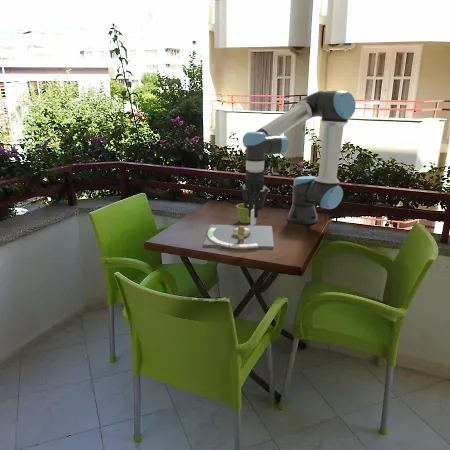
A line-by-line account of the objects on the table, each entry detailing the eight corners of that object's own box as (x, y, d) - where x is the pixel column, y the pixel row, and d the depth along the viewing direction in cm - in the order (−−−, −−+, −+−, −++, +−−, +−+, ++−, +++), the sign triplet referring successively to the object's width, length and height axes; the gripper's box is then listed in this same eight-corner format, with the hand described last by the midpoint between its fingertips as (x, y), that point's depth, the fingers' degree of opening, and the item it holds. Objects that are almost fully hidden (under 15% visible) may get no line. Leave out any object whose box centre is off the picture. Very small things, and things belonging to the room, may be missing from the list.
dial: (233, 230, 186) (233, 217, 183) (250, 231, 185) (250, 217, 182) (231, 244, 170) (231, 229, 167) (249, 245, 169) (249, 230, 167)
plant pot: (253, 225, 197) (253, 209, 194) (235, 224, 199) (235, 208, 196) (255, 219, 206) (255, 203, 203) (238, 218, 208) (238, 202, 205)
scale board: (271, 228, 193) (272, 224, 192) (273, 251, 166) (274, 247, 165) (210, 226, 195) (210, 222, 195) (202, 249, 168) (202, 245, 168)
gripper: (272, 170, 160) (270, 224, 168) (243, 167, 165) (242, 219, 173) (266, 173, 154) (264, 229, 162) (236, 170, 159) (235, 224, 167)
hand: (253, 224), depth 167 cm, fingers closed
